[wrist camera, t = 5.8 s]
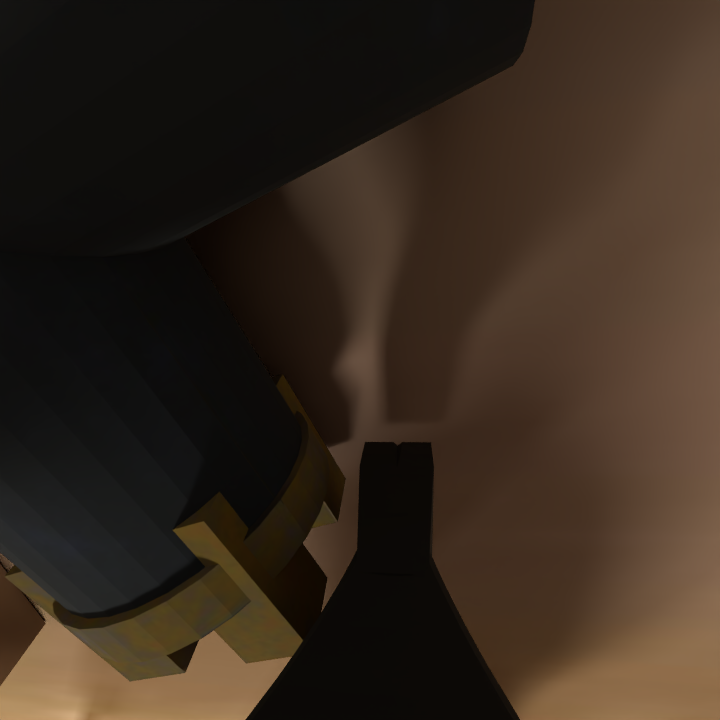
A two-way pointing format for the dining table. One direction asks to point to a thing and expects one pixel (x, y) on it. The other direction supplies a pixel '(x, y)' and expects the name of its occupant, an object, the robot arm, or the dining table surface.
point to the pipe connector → (180, 298)
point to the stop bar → (15, 625)
